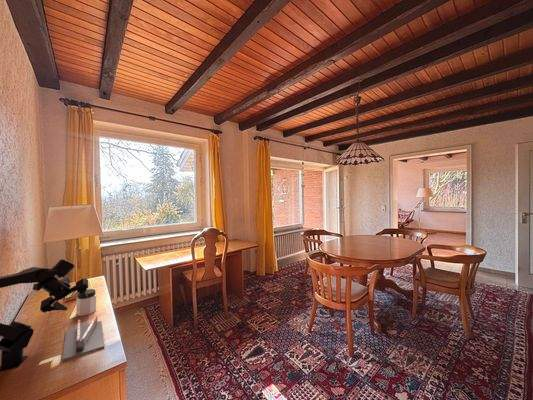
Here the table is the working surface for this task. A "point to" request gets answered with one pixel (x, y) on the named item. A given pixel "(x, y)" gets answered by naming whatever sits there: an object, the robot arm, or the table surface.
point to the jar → (86, 303)
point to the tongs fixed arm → (79, 340)
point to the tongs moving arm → (90, 330)
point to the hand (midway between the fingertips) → (77, 303)
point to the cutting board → (91, 345)
